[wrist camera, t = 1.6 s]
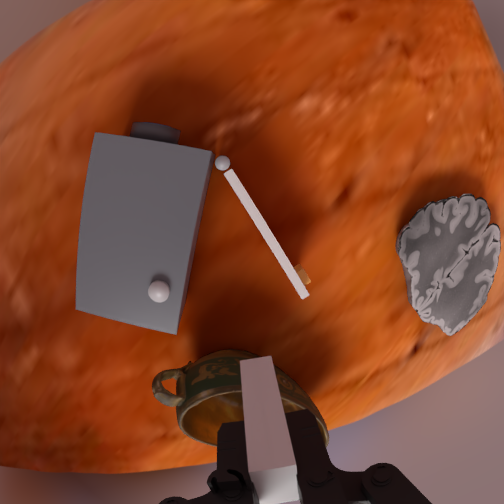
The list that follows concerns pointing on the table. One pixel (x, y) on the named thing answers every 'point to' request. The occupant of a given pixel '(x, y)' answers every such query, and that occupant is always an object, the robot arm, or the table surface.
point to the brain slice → (449, 260)
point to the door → (265, 230)
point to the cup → (222, 394)
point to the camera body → (140, 226)
